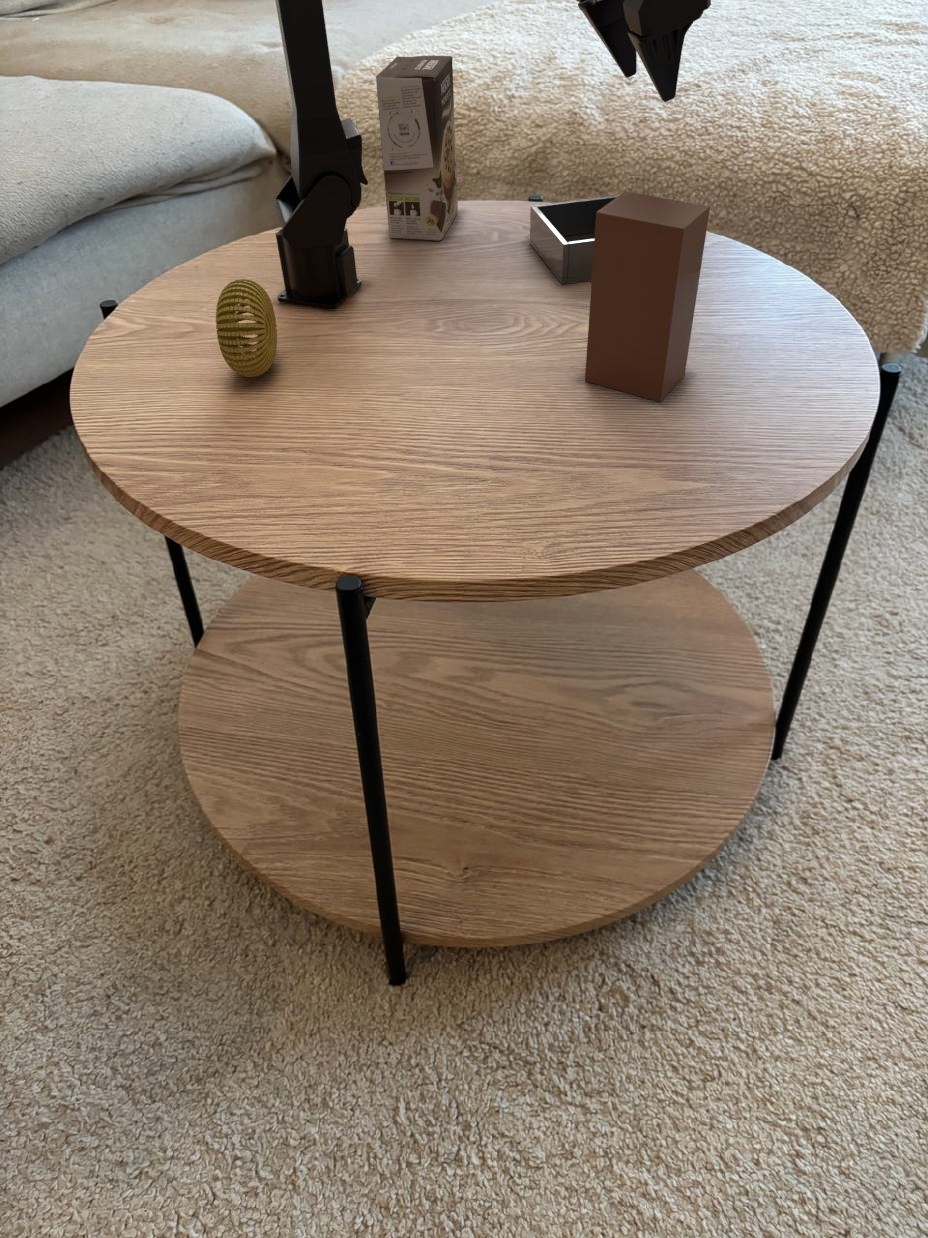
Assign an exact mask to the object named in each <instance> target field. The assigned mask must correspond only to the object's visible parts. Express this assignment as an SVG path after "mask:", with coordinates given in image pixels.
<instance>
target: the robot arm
mask: <svg viewBox="0 0 928 1238" xmlns="http://www.w3.org/2000/svg"><path fill="white" fill-rule="evenodd" d="M575 2H578V3H577V8H578V9H579V10H580V11H581V13H582V14H583V15H584V17H585V18H586V19H587V21H588V22H589V24H590V25H591V27H592V28H593V30H594V32H595V33H596V34H597V36H598V37H599V38H600V40H601V42H602V43H603V45H604V46H605V48H606V49H607V52H608V53H609V54H610V55H611V57H612V58H613V60H614V62H615V63H616V65H617V66H618V68H619V70H620V71H621V72H622V75H623V76H624V77H625V78H630V77H633V76H635V75H636V74H637V67H638V66H637V65H638V64H637V63H638V62H637V61H638V60H637V55H638V56H639V59H640V61H641V63H642V64H643V66H644V69H645V70H646V72H647V74H648V76H649V78H650V81H651V82H652V84H653V87H654V88H655V90H656V91H657V93H658V94H659V98H660V99H661V100H662V102H664V103H666V102H669V101H671V100H674V99H675V98H676V93H677V87H678V79H679V73H680V66H681V61H682V60H681V59H682V52H683V46H684V42H685V38H686V34H687V33H688V31H689V30H690V28H691V27H692V25H693V24H694V22H696V21H698V20H699V19H701V17H702V16H703V14H704V12H705V11H707V10H708V9H709V8H710V7H711V5H712V0H575ZM323 4H324V3H323V0H275V6H276V13H277V18H278V19H277V20H278V25H279V31H280V37H281V43H282V50H283V55H284V61H285V67H286V72H287V78H288V85H289V92H290V96H291V106H292V107H291V123H290V124H291V126H290V172H291V174H290V175H289V176H288V179H286V180H285V182H284V184H283V185H282V187H281V188H280V189H279V190H278V192H277V193H276V195H275V196H274V197H273V203H274V206H275V209H276V213H277V217H278V220H279V224H280V227H281V229H280V230H278V231H277V232H275V238H276V239H275V240H276V245H277V250H278V255H279V262H280V267H281V272H282V279H283V284H284V289H283V291H281V292H280V293H279V294H277V301H278V302H279V303H285V304H292V305H298V306H304V307H312V308H319V309H325V310H335V309H337V308H338V307H339V306H340V305H342V303H344V302H345V300H347V299H348V298H349V297H350V296H351V295H352V294H353V293H355V291H356V290H357V289H358V288H359V287H361V286H362V279H361V278H359V277H358V273H357V266H356V258H355V249H354V247H353V245H350V242H349V233H348V232H349V231H348V228H347V227H346V224H347V220H348V219H349V218H350V217H352V216H353V215H354V213H355V212H356V210H357V209H358V208H359V207H360V205H361V201H362V193H363V192H362V190H363V189H362V185H364V186H368V185H369V181H368V178H367V177H366V175H365V172H364V168H363V160H362V159H363V138H362V137H363V136H362V135H361V133H360V131H359V130H358V128H357V126H356V124H355V123H354V121H353V120H352V118H351V117H348V118H346V119H342V120H341V118H340V117H341V116H340V114H339V110H338V107H337V101H336V100H337V99H336V92H335V87H334V86H335V85H334V78H333V71H332V64H331V63H332V62H331V56H330V49H329V41H328V35H327V27H326V20H325V19H326V18H325V13H324V12H325V11H324V5H323Z"/></svg>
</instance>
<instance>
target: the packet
mask: <svg viewBox="0 0 928 1238" xmlns="http://www.w3.org/2000/svg"><path fill="white" fill-rule="evenodd" d="M619 195H620V196H618V197H617V198H615V199H614V200H613V201H611V202H610V203H608V204H607V205H606V206H604V207H603V208H601V209H600V210H599V211H597V212H596V223H595V238H594V253H593V268H592V280H591V284H590V298H589V299H590V300H589V311H588V313H589V314H588V326H587V327H588V330H587V345H586V356H585V357H586V359H585V372H584V382H587V383H590V384H595V385H598V386H601V387H605V388H608V389H612V390H615V391H619V392H623V393H627V394H630V395H634V396H638V397H641V398H644V399H648V400H652V401H654V402H655V401H656V402H659V403H661V402H662V401H663V400H664V399H665V398H666V397H667V396H668V394H669V393H671V391H672V390H673V389H674V388H676V386H677V385H678V384H679V382H681V381H682V379H683V378H684V377H685V376H686V370H687V368H686V367H687V363H688V356H689V350H690V349H689V348H690V344H691V343H690V342H691V337H692V331H693V330H692V329H693V323H694V317H695V309H696V304H697V303H696V302H697V295H698V290H699V282H700V277H701V270H702V265H703V256H704V251H705V250H704V249H705V243H706V236H707V230H708V224H709V218H710V217H709V216H710V210H711V206H709V205H704V204H698V203H692V202H688V201H682V200H677V199H669V198H664V197H658V196H655V195H654V196H653V195H649V194H648V195H647V194H641V193H637V192H632V191H631V192H630V191H624V192H622V193H621V194H619Z"/></svg>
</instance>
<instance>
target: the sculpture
mask: <svg viewBox="0 0 928 1238" xmlns="http://www.w3.org/2000/svg"><path fill="white" fill-rule="evenodd" d="M273 305H274V304H273V303H272V300H271V298H270V296H269V294H268V292H267V291H266V290H265V288H264V287H262V285H260V284H259V283H257V282H256V281H253V280H252V279H247V278H241V279H235V280H233V281H231V282H230V283H228V284H227V285H225V287H224V288H223V289H222V290H221V292H220V294H219V295H218V299H217V303H216V309H215V324H216V325H215V329H216V335H217V337H216V338H217V342H218V346H219V350H220V353H221V355H222V357H223V359H224V361H225V363H226V364H227V366H228V367H229V368H230V369H231V370H232V371H234V373H236V374H238V375H240V376H242V377H245V378H247V377H248V378H255V377H259V376H261V375H264V374H265V373H266V372H268V371H269V370H270V368H271V367H272V365H273V363H274V361H275V358H276V355H277V347H278V329H277V328H278V327H277V319H276V313H275V310H274V306H273ZM246 313H247V314H246ZM243 321H251V322H243ZM250 336H253V337H250Z"/></svg>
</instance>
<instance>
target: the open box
mask: <svg viewBox="0 0 928 1238" xmlns="http://www.w3.org/2000/svg"><path fill="white" fill-rule="evenodd" d="M620 195H621V194H614V195H606V196H598V197H591V198H581V199H574V200H566V201H557V202H550V203H549V202H548V203H541V204H533V205H530V214H529V215H530V216H529V217H530V221H529V244H530V246H531V247H532V248H533V250H535V252H536V254H538V256H539V257H540V259H541V260H542V261H543V263H544V264H545V265H546V266H547V267H548V269H549V270H550V272H551V273H552V274H553V275H554V276H555V278H556V279H557V280H558V282H559V283H560V284H561V285H569V284H575V283H582V282H589V281H590V282H591V281H592V268H593V253H594V238H595V223H596V212H597V211H599V210H600V209H601V208H603V207H604V206H606V205H607V204H608V203H610V202H611V201H613V200H614V199H615V198H617V197H618V196H620Z"/></svg>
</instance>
